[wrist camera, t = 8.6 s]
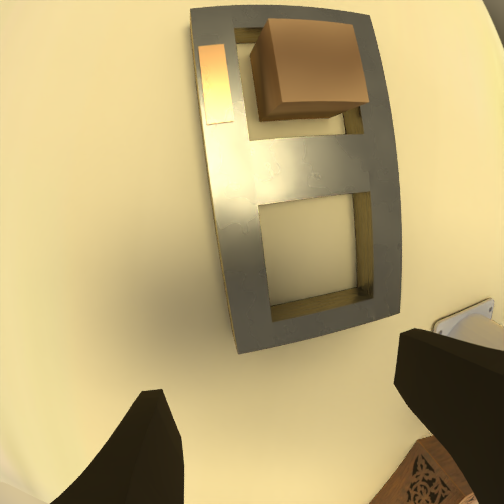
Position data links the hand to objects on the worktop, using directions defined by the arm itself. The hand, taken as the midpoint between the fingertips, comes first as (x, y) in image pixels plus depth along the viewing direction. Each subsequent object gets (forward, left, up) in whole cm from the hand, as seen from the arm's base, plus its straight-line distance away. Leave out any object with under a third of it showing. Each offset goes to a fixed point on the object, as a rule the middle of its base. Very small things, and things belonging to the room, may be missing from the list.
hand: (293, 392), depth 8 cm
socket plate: (+6, -4, -9) cm, 12 cm away
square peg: (+11, -4, -10) cm, 15 cm away
